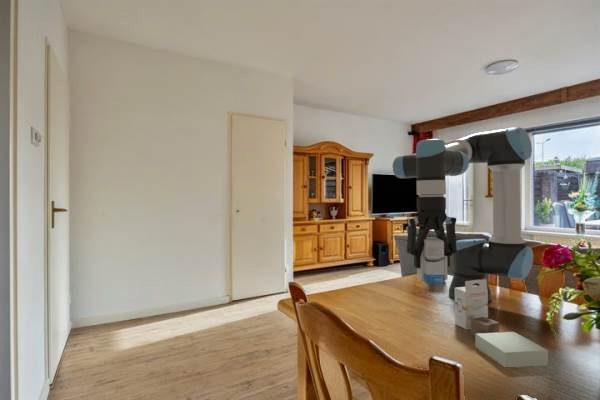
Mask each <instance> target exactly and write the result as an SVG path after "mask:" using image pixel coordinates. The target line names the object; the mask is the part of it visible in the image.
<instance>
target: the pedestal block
mask: <svg viewBox="0 0 600 400" xmlns="http://www.w3.org/2000/svg"><path fill="white" fill-rule="evenodd" d="M474 339H475V342H474V343H475V345H474V346H475V348H476V349H477V350H479V351H480V352H482V353H483V354H484V353H485V354H484V355H486V354H487V355H488V356H487V355H486V356H487V357H489V356H490V357H491V358H493V359H494V360H495V361H497V362H498V363H499V364H498V363H497V362H496V363H497V364H498V365H500V364H501V365H502V366H504V367H516V368H522V367H521V366H532V367H544V366H549V349H546V348H545V347H542V346H541V345H539V344H537V343H536V342H534V341H532V340H531V339H528V338H526V337H524V336H522V335H521V334H518V333H517V332H515V331H504V332H500V331H499V333H477V334H475V338H474ZM490 357H489V358H490ZM491 358H490V359H491ZM493 359H492V360H493ZM494 360H493V361H494ZM501 365H500V366H501ZM502 366H501V367H502ZM519 366H520V367H519ZM504 367H503V368H504Z"/></svg>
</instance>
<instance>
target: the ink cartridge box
mask: <svg viewBox="0 0 600 400" xmlns="http://www.w3.org/2000/svg"><path fill="white" fill-rule="evenodd" d="M475 283H477V284H480V285H479V286H476V285H475V286H472V285H473V284H475ZM487 284H488V280H487V278H486V279H483V280H472V281H465V287H457V288H454V289H455V299H454V322H455V323H454V324H455V325H456V326H458V327H461V329H464V330H471V319H474V318H479V317H486V318H488V319H489V302H488V289H487Z"/></svg>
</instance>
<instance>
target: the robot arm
mask: <svg viewBox="0 0 600 400" xmlns="http://www.w3.org/2000/svg"><path fill="white" fill-rule="evenodd" d="M532 146H533V145H532V142H531V139H530V136H529V133H528V132H527V130H525V129H524V128H523V127H519V126H518V127H517V126H516V127H506V128H500V129H495V130H490V131H482V132H478V133H477V132H476V133H473V134H470V135H467V136H464V137H462V138H459V139H455V140H452V142H450V143H449V144H447V145H446V142H445V140H443V139H442V138H441V139H440V138H431V139H423V140H420V141H418V142H417V144H416V150H415V153H412V154H407V155H404V154H403V155H400V156H397V157H395V158H394V159H393V163H392V171H393V175H394V176H395V177H396V178H399V179H406V180H407V179H411V178H412V179H413V178H416V195H418V196H417V197H416V210H417V212H416V215H415V216H414V217H411V218H410V217H408V218H407V219H406V224H407V227H408V228H407V242H406V243H407V245H406V247H407V248H406V253H407V254H409V255H412V256H413V266H414V268H415V269H416V279H417V280H419V281H421V282H424V257H422V256H421V254H422V251H423V247H424V239H426V237H428V234H429V233H430V231H432V230H433V231H434V232H435V235H436V237H437V238H439V239H441V240H442V241H444V274H445V280H446V281H447V280H448V276H449V275H448V268H449V267H451V256H452V264H453V265H452V266H453V269H452V270H453V271H452V272H453V273H452V274H453V276H452V279H451V282H450V284H449V285H450V286H449V288H448V296H449V297H450V298H452V299H454V300H455V289H454V288H457V287H465V281H472V280H483V279H486V280H487V275H491V276H498V277H503V278H508V279H516V280H522V279H525V278H526V277H527V276H528V275H529V274H530V272H531V270H532V267H533V261H534V253H533V249H532V248H531V247H529V246H527V240H525V238H523V236H522V223H521V222H522V221H521V219H522V215H521V214H522V212H521V211H522V210H521V169H522V168H523V167H524V166H525V165H526V161H527V160H529V159H530V158H531V157H532V152H533V147H532ZM483 163H484V164H485V163H487V168H488V169H489V170H491V172H492V174H491V175H492V176H491V177H492V178H491V179H492V226H493V227H492V228H493V233H492V234H493V235H492V236H491V237H490V238H488V242H487V240H486V239H485V238H469V239H468V238H467V239H459V240H457V235H456V223H457V217H453V216H448V215H447V213H446V209H447V198H446V197H445V196H444V195H446V193H447V186H446V185H447V183H446V182H447V181H446V177H447V176H449V177H456V176H461V175H463V174H464V173H466V172H467V170H468V168H469V166H470V164H483ZM444 223H445V227H444ZM418 224H419V227H418V234H417V225H418ZM445 233H446V234H445ZM475 285H476V286H479V285H480V284H477V283H475V284H473V285H472V286H475ZM487 289H488V303H489V302H491V301H492V292H491V290H490V287H489V283H487Z"/></svg>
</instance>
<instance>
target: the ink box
mask: <svg viewBox="0 0 600 400" xmlns="http://www.w3.org/2000/svg"><path fill="white" fill-rule="evenodd" d="M421 256H422V257H424V281H423V282H424V283H425V284H426V285H442V286H443V285H446V284H445V283H446V282H445V274H444V241H442V240H441V239H439V238H437V236H427V237H426V239H424V247H423V251H422V254H421Z"/></svg>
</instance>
